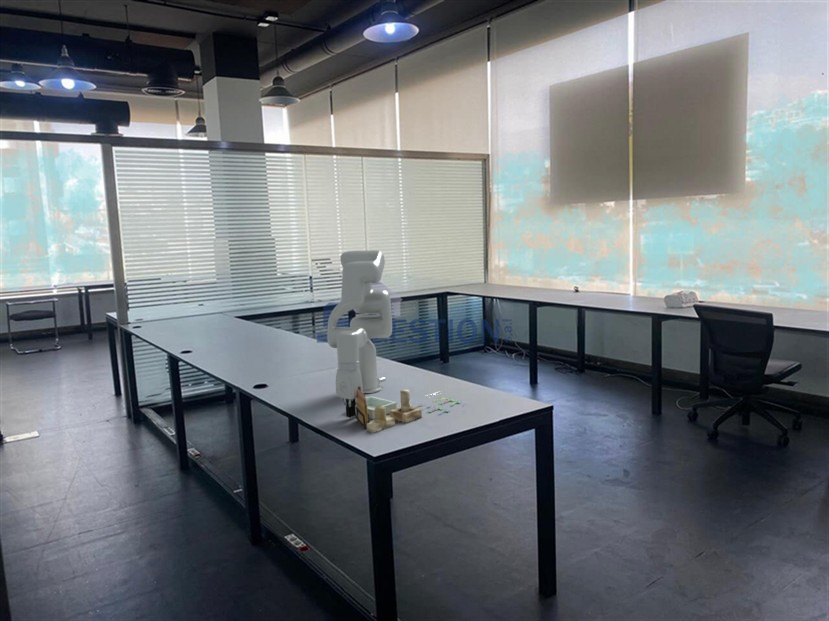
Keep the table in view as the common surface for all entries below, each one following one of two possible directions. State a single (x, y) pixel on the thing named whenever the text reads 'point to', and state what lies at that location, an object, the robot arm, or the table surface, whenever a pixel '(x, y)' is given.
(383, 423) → the bench dog
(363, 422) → the ammunition clip
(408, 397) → the dowel
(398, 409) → the square wooden box
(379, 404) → the tray
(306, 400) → the table surface
